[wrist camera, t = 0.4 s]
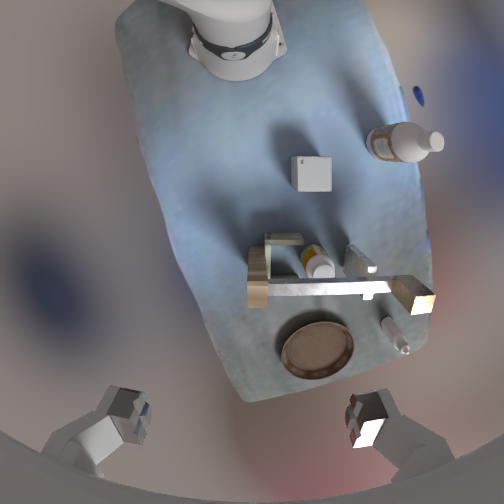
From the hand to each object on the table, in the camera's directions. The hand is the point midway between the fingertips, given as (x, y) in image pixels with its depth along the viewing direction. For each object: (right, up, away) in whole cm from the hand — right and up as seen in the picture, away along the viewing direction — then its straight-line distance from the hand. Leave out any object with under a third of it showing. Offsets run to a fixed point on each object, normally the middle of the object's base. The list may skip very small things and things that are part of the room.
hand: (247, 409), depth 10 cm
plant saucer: (+16, -17, +55) cm, 59 cm away
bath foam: (+26, +28, +40) cm, 55 cm away
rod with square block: (+15, +5, +46) cm, 49 cm away
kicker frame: (+6, +5, +47) cm, 48 cm away
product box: (+10, +21, +42) cm, 48 cm away
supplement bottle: (+13, +5, +47) cm, 49 cm away
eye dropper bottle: (+34, -12, +53) cm, 64 cm away
